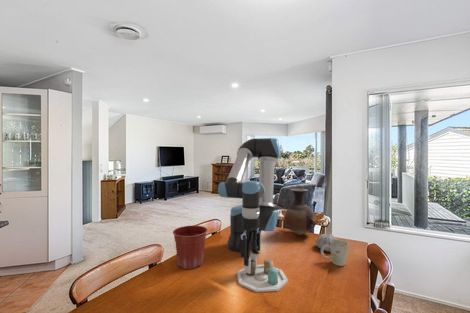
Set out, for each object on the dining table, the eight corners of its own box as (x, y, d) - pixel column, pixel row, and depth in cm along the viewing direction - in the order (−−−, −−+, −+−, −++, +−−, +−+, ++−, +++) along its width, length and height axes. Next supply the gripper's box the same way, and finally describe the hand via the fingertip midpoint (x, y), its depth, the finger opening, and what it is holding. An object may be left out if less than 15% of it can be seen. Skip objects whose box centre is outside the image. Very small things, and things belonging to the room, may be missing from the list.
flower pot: (166, 263, 113) (166, 230, 113) (193, 253, 125) (193, 223, 125) (186, 275, 102) (186, 239, 102) (214, 263, 114) (214, 230, 114)
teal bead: (265, 282, 95) (266, 270, 95) (271, 278, 98) (271, 266, 98) (274, 286, 92) (274, 273, 92) (279, 282, 95) (279, 269, 95)
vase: (322, 240, 145) (322, 191, 144) (292, 242, 142) (292, 192, 141) (304, 228, 167) (305, 186, 167) (279, 230, 164) (279, 187, 164)
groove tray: (228, 281, 97) (228, 277, 97) (255, 264, 113) (255, 260, 113) (269, 300, 85) (269, 295, 85) (294, 278, 100) (294, 274, 100)
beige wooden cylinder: (262, 272, 103) (262, 261, 103) (266, 269, 106) (266, 258, 106) (269, 275, 100) (269, 264, 100) (274, 272, 103) (274, 260, 103)
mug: (350, 268, 109) (350, 246, 109) (322, 265, 112) (322, 244, 112) (345, 260, 117) (345, 240, 117) (319, 257, 120) (319, 238, 120)
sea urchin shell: (337, 244, 138) (337, 231, 138) (344, 254, 124) (344, 239, 124) (313, 243, 140) (313, 230, 140) (318, 252, 126) (318, 238, 126)
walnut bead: (244, 273, 102) (244, 262, 102) (249, 270, 105) (249, 259, 105) (251, 276, 99) (251, 264, 99) (257, 272, 102) (257, 261, 102)
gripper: (246, 222, 93) (245, 281, 93) (268, 214, 106) (268, 266, 106) (231, 219, 98) (231, 275, 98) (254, 211, 111) (254, 261, 111)
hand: (250, 270), depth 102 cm, fingers closed on walnut bead, 4 cm apart
